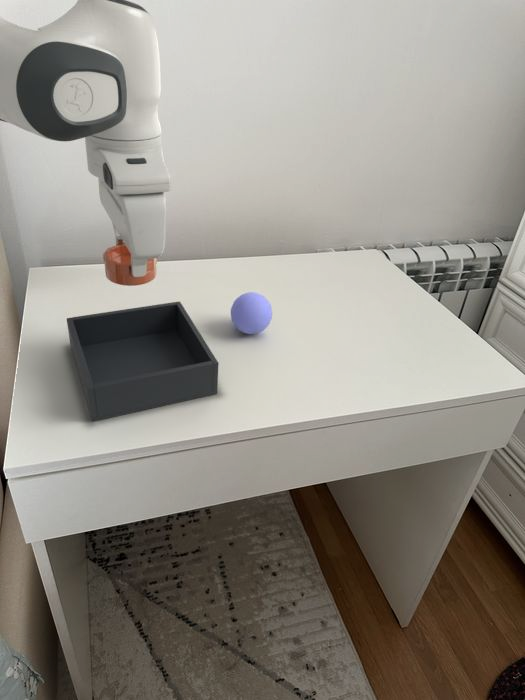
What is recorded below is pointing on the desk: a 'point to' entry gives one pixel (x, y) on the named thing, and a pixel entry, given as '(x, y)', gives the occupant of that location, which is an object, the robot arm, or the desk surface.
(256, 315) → the sphere
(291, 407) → the desk surface
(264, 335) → the desk surface
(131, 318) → the tub
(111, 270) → the orange short cylinder
